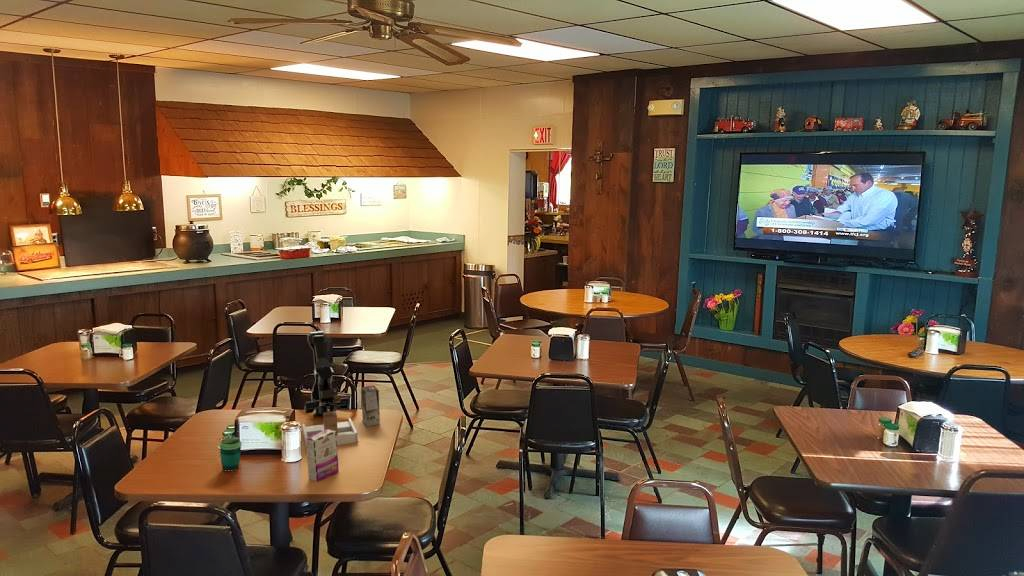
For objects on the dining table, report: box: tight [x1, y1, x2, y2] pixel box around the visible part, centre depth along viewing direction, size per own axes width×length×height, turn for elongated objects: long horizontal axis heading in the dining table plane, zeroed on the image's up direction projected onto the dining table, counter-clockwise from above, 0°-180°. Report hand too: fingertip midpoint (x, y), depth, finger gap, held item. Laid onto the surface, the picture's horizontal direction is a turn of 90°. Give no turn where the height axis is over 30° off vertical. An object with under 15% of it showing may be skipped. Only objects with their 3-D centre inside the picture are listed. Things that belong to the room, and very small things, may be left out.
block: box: [322, 411, 338, 435], centre depth 306 cm, size 5×5×10 cm
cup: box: [218, 436, 243, 471], centre depth 279 cm, size 8×8×12 cm
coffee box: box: [360, 385, 381, 427], centre depth 330 cm, size 9×6×16 cm
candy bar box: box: [305, 429, 340, 483], centre depth 272 cm, size 11×5×16 cm, turn 148°
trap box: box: [301, 417, 359, 446], centre depth 312 cm, size 21×21×4 cm
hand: (329, 422), depth 309 cm, fingers closed
